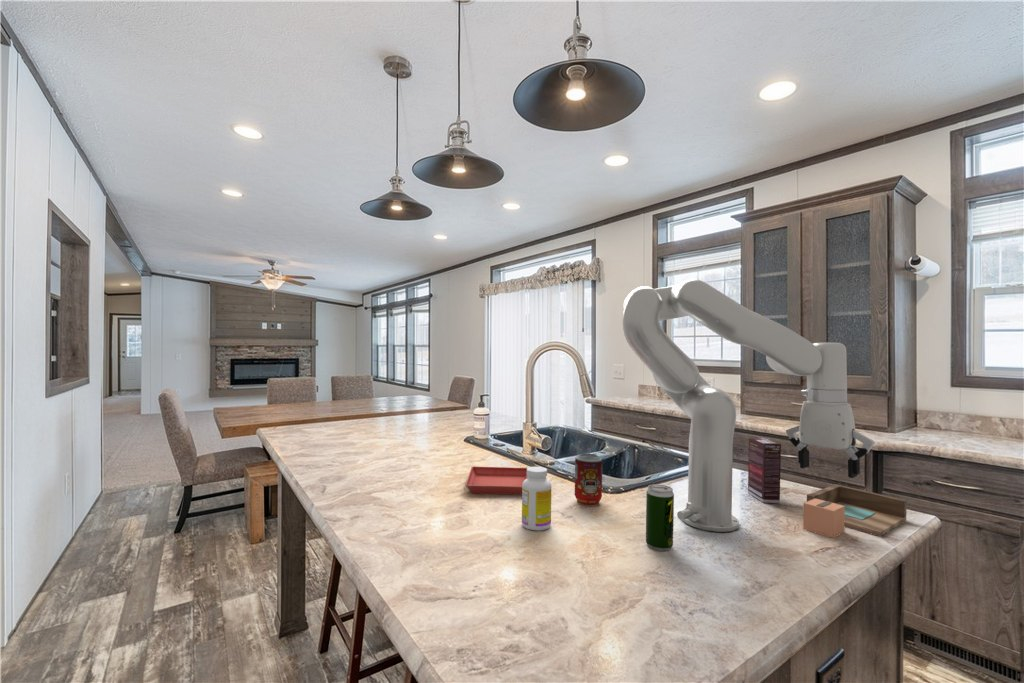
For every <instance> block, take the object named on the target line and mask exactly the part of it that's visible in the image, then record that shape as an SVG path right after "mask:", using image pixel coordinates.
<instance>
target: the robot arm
mask: <svg viewBox="0 0 1024 683" xmlns="http://www.w3.org/2000/svg"><path fill="white" fill-rule="evenodd" d="M622 311H623V313H622V330H623V334H624V335H623V336H624V337H625V340H626V343H628V345H629V347H630V348H631V350H632V351H633V353H635V355H636V356H637V357H638V359H640V361H642V362H643V364H644V365H645V366H646V367H647V369H648V370H650V373H651V372H652V377H653V379H654V381H655V383H656V384H657V385H658V387H660V389H661V390H662V391H663V392H664V393H665V394H666V395H667V396H668V398H670V399H671V400H672V402H674V404H676V406H678V408H679V409H680V410H681V411H682V412H683V413H684V414H685V415H686V416H687V417H688V418H690V426H689V427H690V428H689V434H688V436H689V437H688V471H687V472H688V476H687V477H688V478H687V479H688V480H687V481H688V482H687V484H688V485H687V502H686V505H685V506H686V507H685V509H682V510H679V511H677V514H676V516H677V519H679V520H680V521H682V522H684V523H685V524H687V525H689V526H690V527H693V528H696V529H699V530H703V531H709V532H717V533H726V532H728V533H729V532H733V531H735V530H737V529H739V526H740V521H739V520H738V518H737V517H736V516H734V515H733V511H732V509H733V507H732V506H733V504H732V503H733V466H734V465H733V463H734V462H733V460H734V458H733V451H734V448H733V446H734V434H735V429H736V428H735V427H736V422H737V408H736V404H735V402H734V400H733V399H732V397H731V396H730V395H729V394H728V393H727V392H726V391H724V390H722V389H720V388H717V387H715V386H714V387H713V386H711V385H710V384H709V383H708V381H707V380H705V379H704V377H702V376H701V375H700V371H699V367H698V366H697V364H696V363H695V362H694V360H693V359H691V358H690V357H689V356H688V355H687V354H686V353H685V352H684V351H683V350H682V349H681V348H680V346H678V345H677V344H676V343H675V342H674V341H673V340H672V339H671V338H670V336H669V335H668V334H667V333H666V332H665V330H664V329H663V328H662V326H661V323H660V321H667V320H673V319H680V318H684V317H690V319H693V320H694V321H696V322H697V323H700V324H701V325H703V326H704V327H706V328H707V329H709V330H710V331H712V332H713V333H715V334H716V335H718V336H719V337H721V338H722V339H725V340H726V341H729V342H731V343H733V344H737V345H740V346H743V347H745V348H746V347H747V348H749V349H751V350H755V351H757V352H758V353H760V354H762V355H765V359H766V363H767V365H768V366H769V368H770V369H771V370H773V371H775V372H776V373H779V374H783V375H790V376H791V375H792V376H798V377H806V388H805V389H802V390H801V391H800V395H801V396H803V397H806V398H805V399H806V400H803V401H802V405H801V410H800V415H799V417H800V418H799V425H796V426H793V427H791V428H788V429H786V430H785V433H786V435H787V437H788V438H789V441H790V443H792V445H793V446H794V447H795V449H796V451H798V454H797V455H798V458H797V459H798V464H799V468H801V469H805V468H808V467H810V451H809V449H808V448H809V446H811V447H812V446H813V447H818V448H824V449H830V450H837V451H844V452H845V453H846V454H847V456H849V459H847V477H848V478H849V479H854V478H856V477H858V475H860V473H861V472H860V471H861V470H860V469H861V468H860V467H861V464H860V460H861V459H862V457H864V456H866V455H867V454H869V453H870V450H871V449H872V448H873V447H874V445H875V441H874V440H873V439H871V438H870V437H868V436H866V435H864V434H862V433H860V432H859V431H857V430H856V424H855V423H856V422H855V417H854V412H853V409H852V405H851V403H848V375H847V374H848V372H847V371H848V369H847V368H848V367H847V364H848V363H847V348H846V346H845V345H844V344H843V343H841V342H813V343H812V342H811V341H810V340H808V339H807V338H805V337H803V336H802V335H800V334H798V333H797V332H795V331H794V330H792V329H790V328H789V327H787V326H785V325H782V324H781V323H778V322H777V321H775V320H772V319H770V318H768V317H765V316H763V315H762V314H760V313H759V312H755V311H753V310H750V309H749V308H747V307H745V305H744V306H743V305H742V304H741V303H739V302H737V301H736V300H734V299H732V298H731V297H730V296H728V295H726V294H724V293H723V292H721V291H720V290H718V289H716V288H715V287H713V286H712V285H710V284H708V283H706V282H705V281H703V280H701V279H698V278H697V279H696V278H690V279H686V280H684V281H681V282H679V283H678V284H675V285H669V286H665V287H658V288H653V287H650V286H639V287H637V288H634V289H633V290H632V291H630V293H628V295H627V296H626V297H625V299H624V301H623V305H622ZM796 433H798V437H797V434H796ZM857 441H859V442H860V443H862V447H861V448H859V450H858V448H857V447H856V445H857V444H856V443H857Z"/></svg>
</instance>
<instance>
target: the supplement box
mask: <svg viewBox="0 0 1024 683" xmlns="http://www.w3.org/2000/svg"><path fill="white" fill-rule="evenodd" d="M781 450H782V443H779V442H776V441H773V440H771V439H768V438H766V437H757V436H755V437H753V436H751V437H748V466H747V468H748V472H747V476H748V477H747V494H749V495H751V496H752V497H754V498H755V499H757V500H759V501H760V502H761V503H766V504H780V503H781V462H782V461H781V460H782V457H781V456H782V451H781Z"/></svg>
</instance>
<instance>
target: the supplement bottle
mask: <svg viewBox="0 0 1024 683" xmlns="http://www.w3.org/2000/svg"><path fill="white" fill-rule="evenodd" d="M526 468H527V476H528V478H527V479H525V480H524V481H523V483H522V494H521V525H522V527H524V528H525V529H527V530H530V531H539V532H540V531H544V530H547V529H549V528H550V527H551V524H552V483H551V481H550V480H549V479H547V476H548V469H547V468H546V467H543V466H528V467H526Z"/></svg>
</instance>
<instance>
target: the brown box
mask: <svg viewBox="0 0 1024 683" xmlns="http://www.w3.org/2000/svg"><path fill="white" fill-rule="evenodd" d="M802 515H803V518H802V519H803V522H802V525H803V526H802V529H803V530H805V529H806V531H808V530H809V531H810V532H812V531H813V532H812V533H815V532H816V533H815V534H818V533H819V535H821V534H822V536H824V535H825V537H828V538H831V537H832V538H831V539H834V538H836V537H838V536H840V535H841V533H842V534H844V533H845V526H844V522H845V506H843V505H839V504H835V503H831V502H827V501H824V500H820V499H816V498H815V499H812V500H810V501H807V500H806V501H805V502H803V513H802ZM843 532H844V533H843ZM839 534H840V535H839ZM837 535H838V536H837Z"/></svg>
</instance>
